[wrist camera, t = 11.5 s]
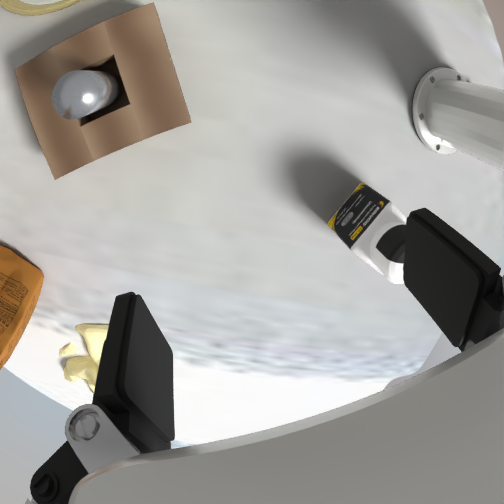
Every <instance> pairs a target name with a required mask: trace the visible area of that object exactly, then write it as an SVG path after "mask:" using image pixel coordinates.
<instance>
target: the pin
mask: <svg viewBox="0 0 504 504" xmlns="http://www.w3.org/2000/svg"><path fill="white" fill-rule="evenodd" d="M122 92H123V82H122V80H121V78H120V77H119V76H118V75H117V74H115V73H113V72H105V71H86V70H75V71H71V72H68V73H66V74H65V75H63V76H62V77H61V78H60V79H59V80H58V81H57V83H56V84H55V86H54V89H53V93H52V104H53V107H54V109H55V111H56V112H57V113H58V114H59V115H60V116H61V117H63V118H65V119H70V120H74V119H79V118H81V117H84V116H86V115H88V114H90V113H93V112H95V111H97V110H100V109H102V108H105V107H107V106H110V105H112V104H114V103H115V102H117V101H118V100H119V98H120V97H121V95H122Z"/></svg>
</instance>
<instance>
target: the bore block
mask: <svg viewBox="0 0 504 504" xmlns="http://www.w3.org/2000/svg"><path fill="white" fill-rule="evenodd" d="M75 70H86V71H105V72H113V73H115V74H117V75H118V76H119V77H120V78H121V80H122V82H123V92H122V95H121V97H120V98H119V100H118V101H117V102H115V103H114V104H112V105H110V106H107V107H105V108H102V109H100V110H97V111H95V112H93V113H90V114H88V115H86V116H84V117H81V118H79V119H74V120H70V119H65V118H63V117H61V116H60V115H59V114H58V113H57V112H56V111H55V109H54V107H53V104H52V93H53V89H54V86H55V84H56V83H57V81H58V80H59V79H60V78H61V77H62V76H63V75H65V74H66V73H68V72H71V71H75ZM15 73H16V77H17V80H18V84H19V87H20V90H21V93H22V96H23V99H24V102H25V105H26V108H27V111H28V114H29V117H30V120H31V122H32V125H33V128H34V130H35V133H36V136H37V138H38V141H39V143H40V146H41V148H42V151H43V153H44V156H45V158H46V160H47V163H48V165H49V167H50V170H51V172H52V174H53V177H54V179H55V180H56V179H58V178H60V177H62V176H64V175H66V174H68V173H70V172H72V171H74V170H76V169H78V168H80V167H82V166H84V165H86V164H88V163H90V162H93V161H95V160H97V159H99V158H101V157H104V156H106V155H108V154H110V153H113V152H115V151H117V150H120V149H122V148H124V147H127V146H129V145H132V144H134V143H137V142H139V141H142V140H144V139H147V138H149V137H152V136H154V135H157V134H160V133H162V132H165V131H168V130H171V129H173V128H176V127H179V126H182V125H185V124H188V123H191V119H190V115H189V112H188V109H187V106H186V103H185V100H184V97H183V94H182V90H181V87H180V84H179V81H178V78H177V75H176V72H175V68H174V65H173V62H172V59H171V56H170V52H169V49H168V46H167V43H166V40H165V36H164V33H163V30H162V27H161V23H160V20H159V17H158V14H157V11H156V8H155V5H154V2H153V3H150V4H147V5H144V6H141V7H138V8H136V9H133V10H130V11H128V12H125V13H123V14H120V15H118V16H115V17H113V18H111V19H108V20H106V21H104V22H101V23H99V24H97V25H95V26H93V27H90V28H88V29H86V30H84V31H82V32H80V33H78V34H76V35H74V36H72V37H70V38H68V39H66V40H65V41H63V42H61V43H59V44H57V45H55V46H54V47H52V48H50V49H48V50H47V51H45V52H43V53H41V54H40V55H38V56H37V57H35V58H33V59H32V60H30V61H28V62H27V63H25V64H24V65H22V66H21V67H19V68H18V69H16V70H15Z"/></svg>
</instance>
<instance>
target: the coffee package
mask: <svg viewBox="0 0 504 504" xmlns="http://www.w3.org/2000/svg"><path fill="white" fill-rule="evenodd" d="M43 278H44V275H43V273H42V272H41V270H40V269H38V268H36V267H34V266H33V265H32V264H30V263H29V262H27V261H26V260H24V259H22V258H21V257H20V256H18V255H16V254H15V253H14V252H13V251H11V250H10V249H8V248H6V247H3V246H1V245H0V369H1V368H2V367H3V366H4V364H5V363H6V362H7V361H8V359H9V358H10V356H11V354H12V353H13V351H14V349H15V347H16V345H17V344H18V342H19V340H20V338H21V336H22V334H23V332H24V330H25V328H26V326H27V324H28V322H29V320H30V318H31V316H32V313H33V311H34V309H35V307H36V304H37V301H38V298H39V295H40V291H41V288H42V284H43Z"/></svg>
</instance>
